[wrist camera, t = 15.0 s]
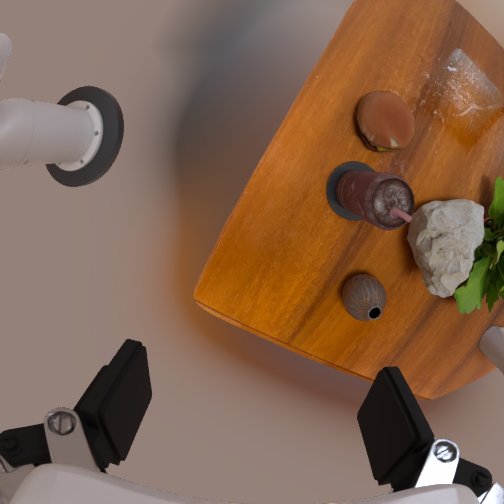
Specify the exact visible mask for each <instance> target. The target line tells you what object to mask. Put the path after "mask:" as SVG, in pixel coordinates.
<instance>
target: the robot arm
mask: <svg viewBox="0 0 504 504" xmlns="http://www.w3.org/2000/svg"><path fill="white" fill-rule="evenodd" d="M11 51H12V42H11V40H10V38H9V37H8V36H7V35H5V34H3V33H1V32H0V80H1V78H2V75H3V72H4V70H5V68H6V65H7V63H8V60H9V58H10V54H11ZM102 137H103V120H102V117H101V114H100V112H99V110H98V109H97V107H95V106H94V105H93V104H91V103H90V102H86V101H75V102H72V103H70V104H68V105H67V106H63V105H57V104H52V103H46V102H41V101H35V100H28V99H22V98H10V99H6V100H3V101H0V169H6V168H15V167H23V166H32V165H41V164H53V163H55V164H56V165H57V166H58V167H59V168H61V169H63V170H65V171H75V170H79V169H81V168H83V167H85V166H86V165H87V164H89V163H90V162H91V160H92V159H93V158H94V157H95V155H96V153H97V152H98V149H99V147H100V144H101V141H102ZM151 398H152V389H151V382H150V376H149V368H148V360H147V352H146V347H144V346H142V343H141V342H139V341H135V340H131V339H127V340H126V341H125V342H124V343H123V345H122V346H121V348H120V349H119V350H118V352H117V354H116V355H115V356H114V358H113V359H112V361H111V362H110V363H109V365H105V366H103V367H102V368H101V370H100V371H99V372H98V374H97V375H96V377H95V378H94V380H93V381H92V382H91V384H90V385H89V387H88V388H87V390H86V391H85V393H84V394H83V396H82V397H81V398H80V400H79V401H78V403H77V405H76V406H75V407H74V409H73V410H71V409H69V408H65V407H62V408H61V407H60V408H55V409H53V410H51V411H50V412H48V414H47V415H46V416H45V419H44V423H42V424H38V425H33V426H27V427H21V428H15V429H9V430H5V431H3V432H2V433H1V434H0V504H242V503H231V502H222V501H215V500H208V499H202V498H195V497H190V496H185V495H180V494H176V493H171V492H167V491H163V490H159V489H155V488H151V487H148V486H144V485H140V484H137V483H134V482H130V481H127V480H124V479H121V478H118V477H114V476H111V475H109V474H108V472H107V470H106V468H108V466H109V464H110V463H112V464H115V465H119V463H120V461H121V460H122V461H124V460H125V459H126V457H127V455H128V452H129V450H130V447H131V445H132V443H133V440H134V438H135V436H136V433H137V431H138V429H139V426H140V423H141V421H142V419H143V417H144V415H145V412H146V410H147V408H148V405H149V403H150V401H151ZM357 420H358V423H359V426H360V430H361V433H362V437H363V440H364V444H365V447H366V451H367V455H368V458H369V462H370V466H371V469H372V473H373V477H374V479H375V480H377V481H378V484H379V486H380V485H385V484H391V486H392V488H391V490H390V491H389V493H388V494H385V495H380V496H375V497H369V498H364V499H358V500H351V501H343V502H334V503H325V504H504V489H503V488H502V487H501V486H500V485H498V484H497V483H496V482H495V483H494V484H492V475H491V473H490V472H489V471H488V470H487V469H486V468H483V467H481V466H479V465H476V464H474V463H471V462H469V461H466V460H464V459H462V458H460V451H459V448H458V446H457V445H456V444H455V443H454V442H453V441H451V440H450V439H446V438H441V439H438V440H436V441H435V440H434V434H433V432H432V430H431V428H430V426H429V424H428V422H427V421H426V418H425V417H424V414H423V412H422V410H421V409H420V407H419V405H418V403H417V401H416V399H415V397H414V395H413V393H412V391H411V390H410V388H409V386H408V384H407V382H406V380H405V379H404V377H403V375H402V373H401V371H400V370H399V368H398V367H396V366H395V367H384V368H383V369H382V370H380V371H379V372H378V374H377V376H376V378H375V380H374V382H373V384H372V386H371V389H370V390H369V393H368V394H367V397H366V398H365V400H364V402H363V404H362V406H361V408H360V410H359V411H358V414H357Z"/></svg>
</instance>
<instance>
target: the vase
mask: <svg viewBox="0 0 504 504" xmlns="http://www.w3.org/2000/svg"><path fill="white" fill-rule="evenodd" d="M342 300H343V304H344V307H345V309H346V310H347V312H348V313H349V314H350V315H351V316H352V317H354V318H355V319H357V320H361V321H370V320H377V319H379V318H380V317H381V315H382V312H383V310H384V308H385V305H386V292H385V289H384V287H383V285H382V284H381V283H380V281H378V280H377V279H376V278H375V277H373V276H371V275H367V274H359V275H356V276H354V277H352V278H351V279H349V280H348V281H347V283H346V284H345V286H344V289H343V293H342Z"/></svg>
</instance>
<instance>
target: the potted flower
mask: <svg viewBox="0 0 504 504" xmlns="http://www.w3.org/2000/svg"><path fill="white" fill-rule="evenodd" d="M488 214H489V217H490V218H486V219H484V237H483V241H482V244H481V245H480V246H478V247H477V248H476V249H475V250H474V261H473V265H472V267H471V270H470V272H469V277H468V280H467V281H466V282H465V283H464V284H463V285H462V286H460V287H459V288H457V289H456V290H455V292H454V293H453V294H454V297H455V299H456V302H457V306H458V310H459V312H461V314H463V313H464V312H465V311H466V313H467V314H469V313H471V311H473V310H474V309H475V307H476V308H477V309H478V310H480V309H481V302H482V298H483V297H484V295H485V293H486V303H487V302H488V310H489V313H490V312H491V310H492V308H493V305H494V302H496V301H497V299H498V301H499V296H500V297H501V298H502V299H503V300H504V180H503V179H502V178H501V177H498V178H497V179H496V181H495V189H494V196H493V200H492V203H491V205H490V207H489V210H488ZM498 293H499V296H498Z"/></svg>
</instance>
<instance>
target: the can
mask: <svg viewBox="0 0 504 504" xmlns="http://www.w3.org/2000/svg"><path fill="white" fill-rule="evenodd" d="M336 197H337V199H338V201H339V203H340V204H341V205H342V206H343V207H344V208H345V209H347V210H349V211H351V212H352V213H354V214H356V215H358V216H359V217H361V218H363V219H365V220H366V221H368V222H370V223H371V224H373V225H375V226H377V227H378V228H380V229H383V230H393V229H397V228H400V227H401V226H403V225H405V224H406V223H407V222H411V220H412V218H411V216H412V214H413V211H414V205H415V201H414V195H413V192H412V190H411V188H410V186H409V185H408V184H407V182H406V181H405V180H404V179H402V178H401V177H399V176H398V175H394V174H389V173H378V172H367V171H349V172H347V173H345V174H343V175H342V176H341V177H340V178H339V180H338V182H337V185H336Z"/></svg>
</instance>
